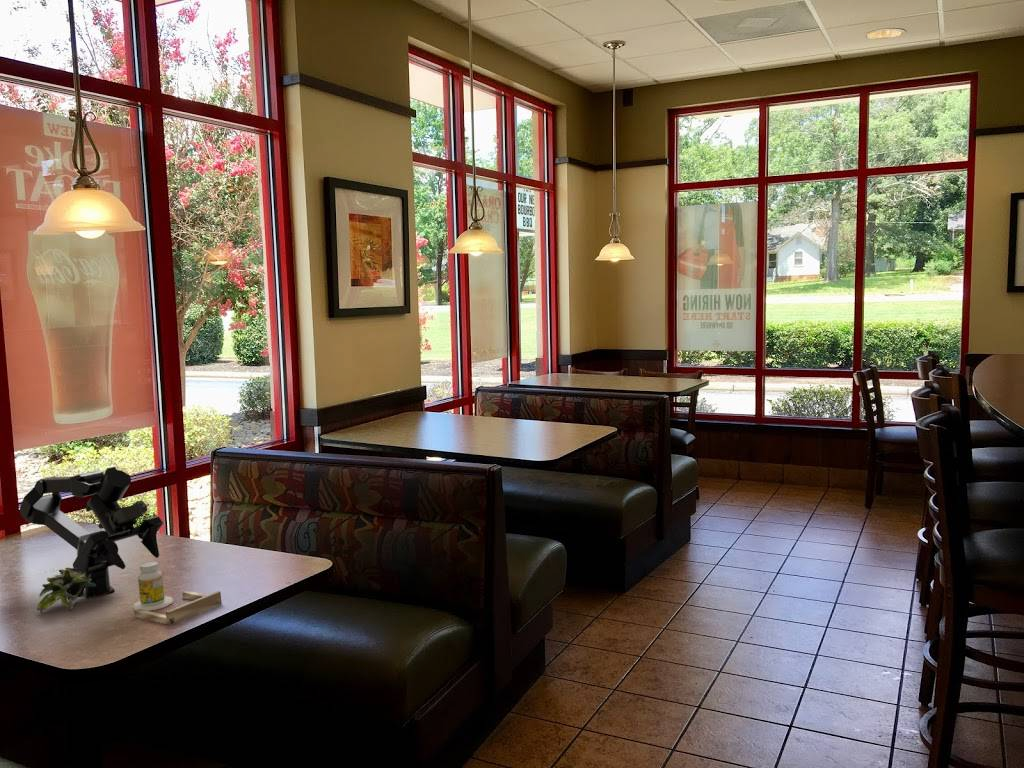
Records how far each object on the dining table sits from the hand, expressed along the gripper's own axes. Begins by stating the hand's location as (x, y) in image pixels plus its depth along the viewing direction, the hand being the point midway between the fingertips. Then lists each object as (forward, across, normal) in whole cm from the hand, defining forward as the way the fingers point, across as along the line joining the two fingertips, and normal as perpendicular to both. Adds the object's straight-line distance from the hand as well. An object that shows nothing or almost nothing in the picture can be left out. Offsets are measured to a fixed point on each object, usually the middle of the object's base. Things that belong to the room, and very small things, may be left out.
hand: (141, 562), depth 199 cm
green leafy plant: (-4, -10, +19) cm, 21 cm away
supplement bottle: (+9, 0, +5) cm, 10 cm away
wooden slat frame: (+16, 0, -2) cm, 16 cm away
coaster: (+9, 0, +5) cm, 11 cm away
